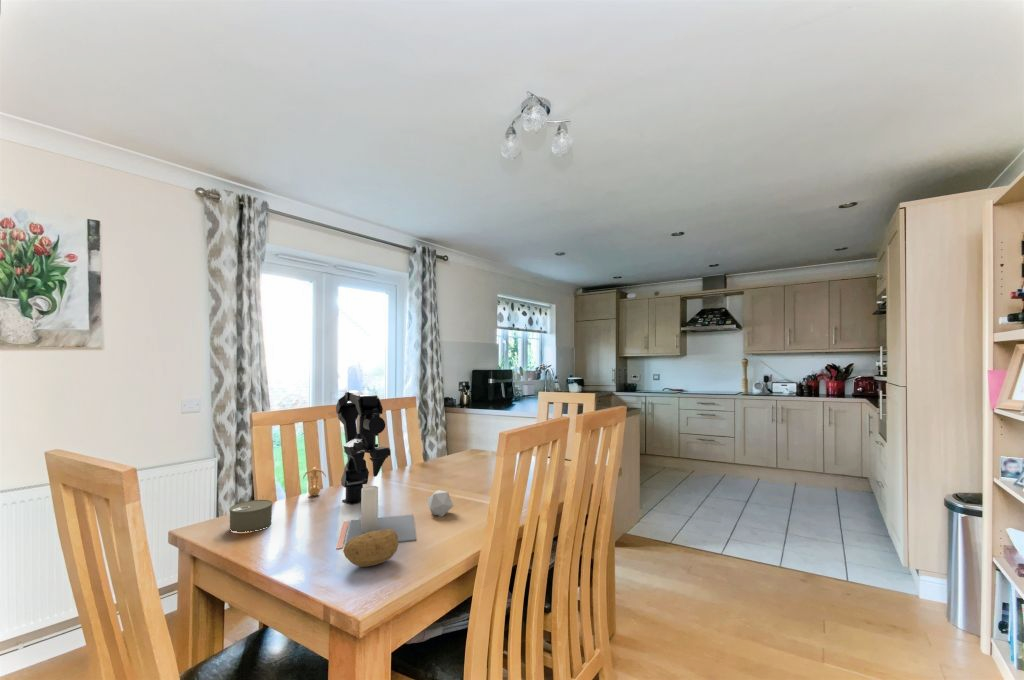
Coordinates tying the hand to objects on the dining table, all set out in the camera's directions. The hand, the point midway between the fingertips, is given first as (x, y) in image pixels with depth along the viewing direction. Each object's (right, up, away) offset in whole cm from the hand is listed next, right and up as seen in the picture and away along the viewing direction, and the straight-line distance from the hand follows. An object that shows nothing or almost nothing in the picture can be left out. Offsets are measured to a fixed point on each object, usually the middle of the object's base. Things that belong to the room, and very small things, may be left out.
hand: (366, 474), depth 158 cm
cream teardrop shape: (+7, -12, -19) cm, 23 cm away
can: (-33, -13, -14) cm, 38 cm away
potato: (+15, -11, -41) cm, 45 cm away
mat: (+10, -12, -18) cm, 24 cm away
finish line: (-1, -12, -21) cm, 24 cm away
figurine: (-27, -14, +18) cm, 35 cm away
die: (+26, -13, -3) cm, 30 cm away
